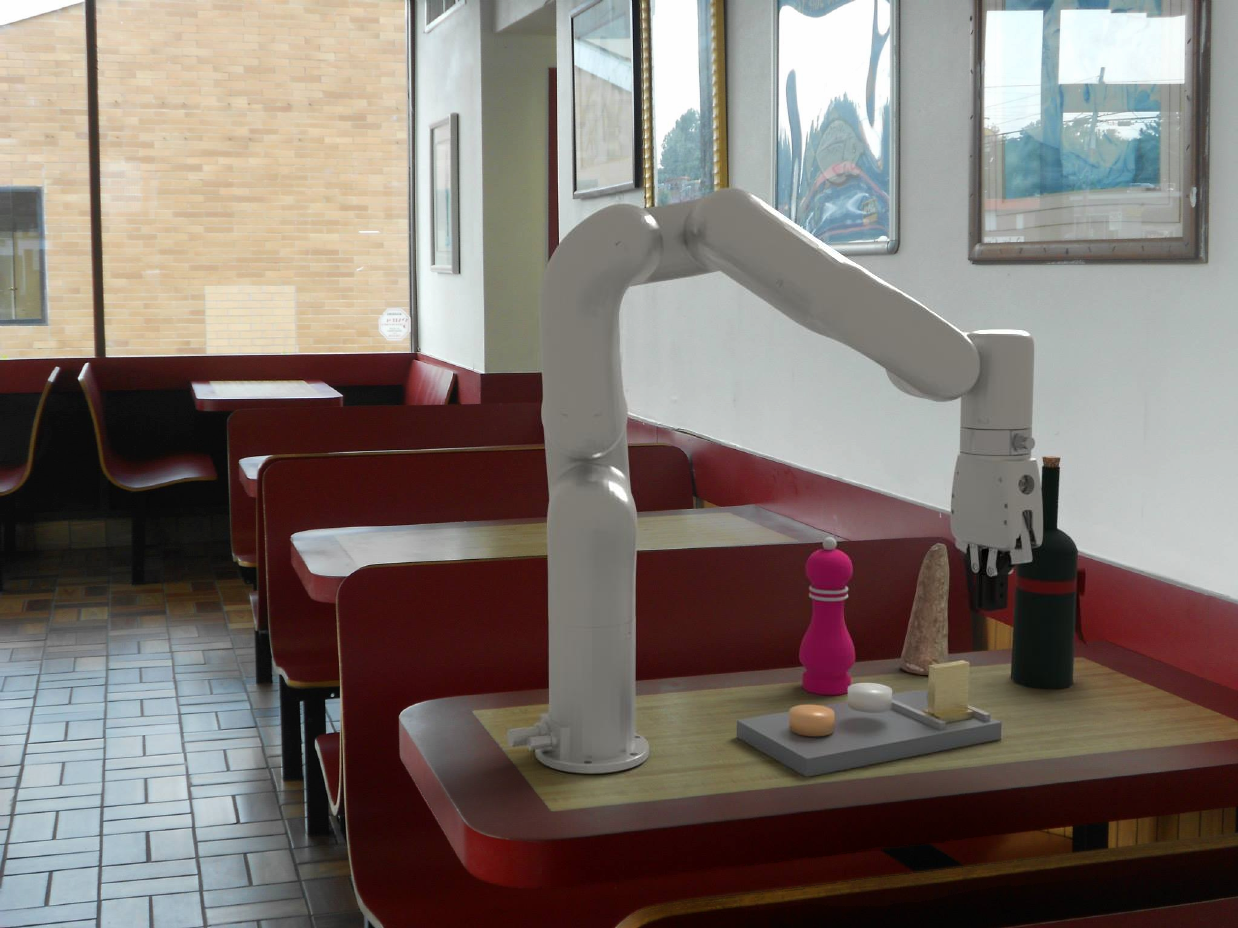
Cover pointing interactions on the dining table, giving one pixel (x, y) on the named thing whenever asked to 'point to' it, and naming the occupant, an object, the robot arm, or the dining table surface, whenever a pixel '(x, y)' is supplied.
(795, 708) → the orange button
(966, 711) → the brass paddle
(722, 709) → the dining table surface
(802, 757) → the control panel
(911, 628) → the brown speckled elongated rod
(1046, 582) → the wine bottle
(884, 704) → the white knob
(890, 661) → the dining table surface
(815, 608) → the pepper mill
